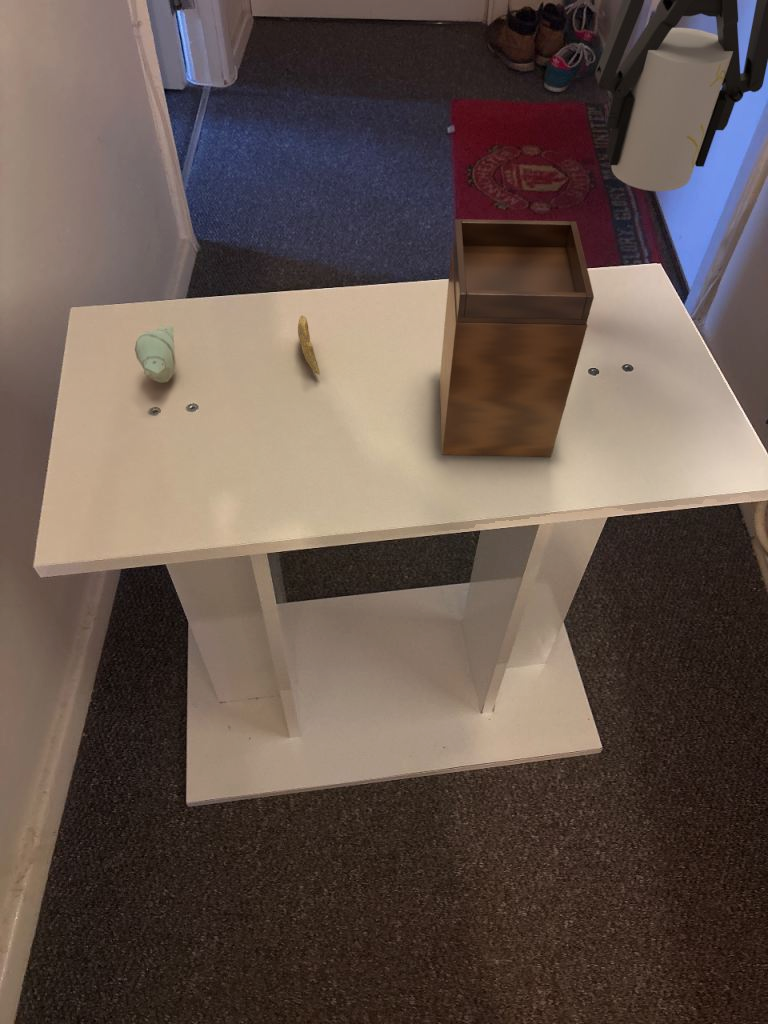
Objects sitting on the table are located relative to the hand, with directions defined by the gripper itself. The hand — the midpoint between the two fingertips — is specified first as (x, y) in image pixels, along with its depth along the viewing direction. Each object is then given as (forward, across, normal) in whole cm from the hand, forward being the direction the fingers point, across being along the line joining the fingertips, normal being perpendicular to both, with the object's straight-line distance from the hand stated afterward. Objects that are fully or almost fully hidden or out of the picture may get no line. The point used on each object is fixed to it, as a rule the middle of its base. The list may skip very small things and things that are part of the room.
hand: (654, 159), depth 78 cm
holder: (+4, +15, +16) cm, 22 cm away
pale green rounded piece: (+22, +54, +11) cm, 60 cm away
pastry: (+22, +37, +7) cm, 44 cm away
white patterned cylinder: (+1, 0, 0) cm, 1 cm away
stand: (+22, +15, +16) cm, 31 cm away
